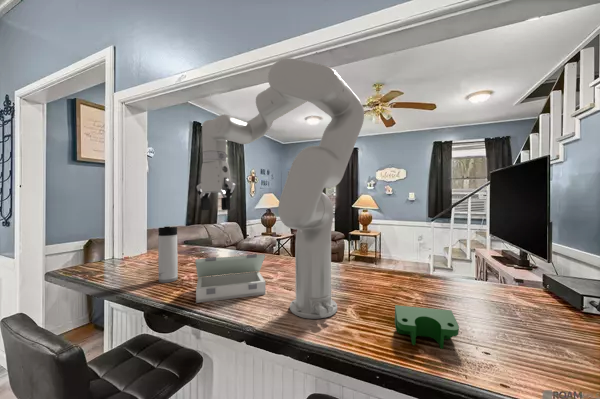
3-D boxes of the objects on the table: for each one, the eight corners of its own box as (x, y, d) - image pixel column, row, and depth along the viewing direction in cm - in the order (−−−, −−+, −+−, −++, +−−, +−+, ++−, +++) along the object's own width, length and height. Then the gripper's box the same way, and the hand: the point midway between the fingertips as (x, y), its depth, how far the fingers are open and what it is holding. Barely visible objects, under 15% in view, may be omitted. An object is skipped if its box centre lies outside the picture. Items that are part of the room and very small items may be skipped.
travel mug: (157, 284, 91) (156, 227, 91) (159, 278, 97) (159, 225, 97) (176, 282, 93) (176, 226, 93) (178, 276, 99) (177, 224, 99)
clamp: (407, 362, 53) (389, 326, 52) (403, 340, 59) (387, 307, 58) (470, 351, 49) (452, 311, 48) (459, 328, 55) (443, 292, 54)
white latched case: (266, 295, 79) (266, 282, 79) (195, 303, 73) (195, 290, 73) (259, 282, 91) (258, 271, 91) (198, 289, 85) (198, 277, 85)
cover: (265, 255, 81) (265, 252, 81) (195, 261, 74) (195, 257, 75) (259, 271, 92) (259, 269, 92) (197, 277, 85) (197, 274, 86)
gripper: (241, 157, 85) (242, 209, 85) (206, 162, 94) (207, 209, 94) (224, 154, 79) (225, 210, 78) (188, 159, 87) (188, 210, 87)
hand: (215, 209), depth 86 cm, fingers open, 9 cm apart
